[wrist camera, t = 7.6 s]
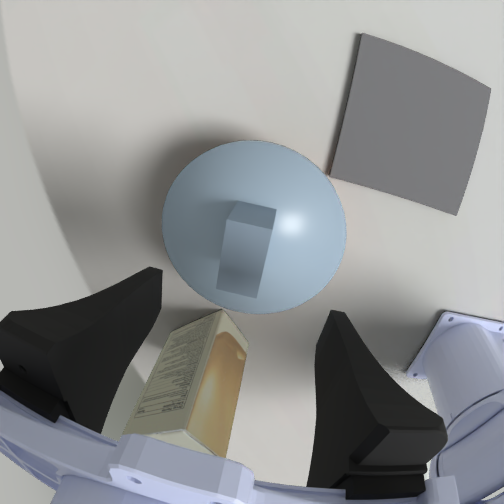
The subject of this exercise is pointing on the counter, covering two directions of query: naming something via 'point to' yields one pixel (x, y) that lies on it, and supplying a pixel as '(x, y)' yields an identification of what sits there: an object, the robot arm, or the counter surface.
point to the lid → (254, 227)
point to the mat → (410, 126)
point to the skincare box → (194, 387)
